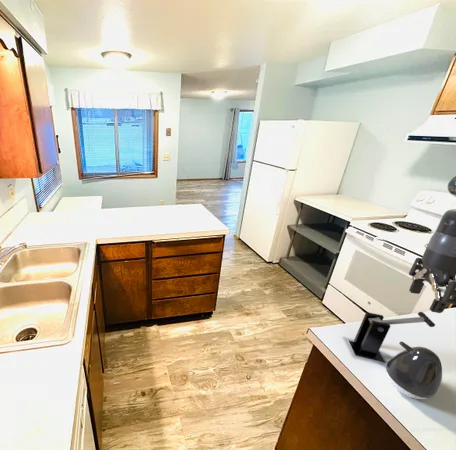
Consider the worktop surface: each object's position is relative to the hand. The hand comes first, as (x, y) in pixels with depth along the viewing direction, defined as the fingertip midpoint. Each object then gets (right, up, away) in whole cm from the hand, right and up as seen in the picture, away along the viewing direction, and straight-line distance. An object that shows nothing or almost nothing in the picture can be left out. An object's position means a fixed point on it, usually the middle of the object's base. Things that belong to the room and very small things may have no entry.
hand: (423, 301), depth 67 cm
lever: (+1, -10, +7) cm, 12 cm away
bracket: (-5, -21, +14) cm, 26 cm away
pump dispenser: (-3, -26, +2) cm, 26 cm away
